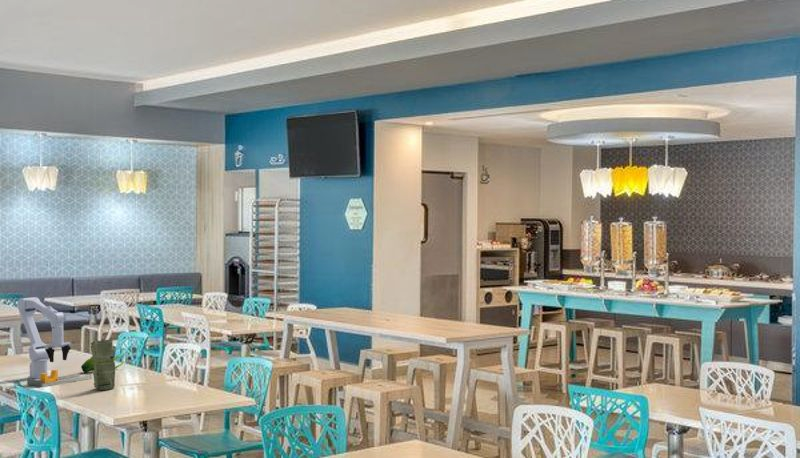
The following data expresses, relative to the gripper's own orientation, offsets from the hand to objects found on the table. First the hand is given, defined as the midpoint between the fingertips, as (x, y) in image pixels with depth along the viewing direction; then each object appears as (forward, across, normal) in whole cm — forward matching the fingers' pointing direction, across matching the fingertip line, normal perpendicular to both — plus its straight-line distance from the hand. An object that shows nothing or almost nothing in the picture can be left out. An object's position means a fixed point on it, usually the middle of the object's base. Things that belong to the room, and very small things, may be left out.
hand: (58, 361), depth 488 cm
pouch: (+10, -3, -43) cm, 44 cm away
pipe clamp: (+10, -10, -6) cm, 16 cm away
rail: (+10, -3, -6) cm, 12 cm away
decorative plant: (+10, +35, +6) cm, 37 cm away
